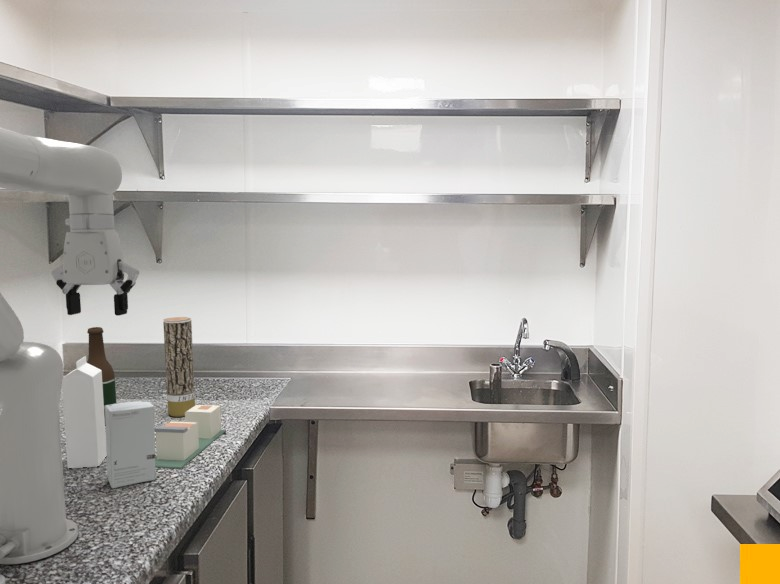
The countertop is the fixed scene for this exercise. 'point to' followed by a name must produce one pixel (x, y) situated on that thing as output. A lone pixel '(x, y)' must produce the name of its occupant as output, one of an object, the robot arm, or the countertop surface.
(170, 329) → the paper tube
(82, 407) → the milk
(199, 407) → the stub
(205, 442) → the mat
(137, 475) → the skincare box
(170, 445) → the lidded cream box
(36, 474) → the robot arm
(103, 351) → the beer bottle
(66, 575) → the countertop surface
